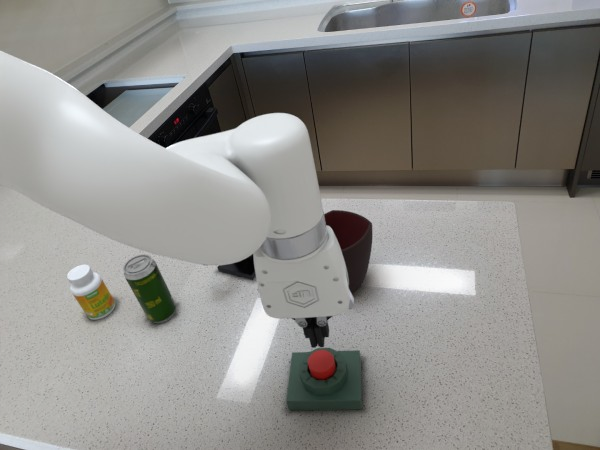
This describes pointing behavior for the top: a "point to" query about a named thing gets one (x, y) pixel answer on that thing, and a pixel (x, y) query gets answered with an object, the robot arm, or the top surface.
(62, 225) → the top surface
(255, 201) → the robot arm
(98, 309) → the supplement bottle
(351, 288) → the cup
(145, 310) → the beer can
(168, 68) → the top surface
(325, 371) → the stop button
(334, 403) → the control box
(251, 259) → the switch bracket
